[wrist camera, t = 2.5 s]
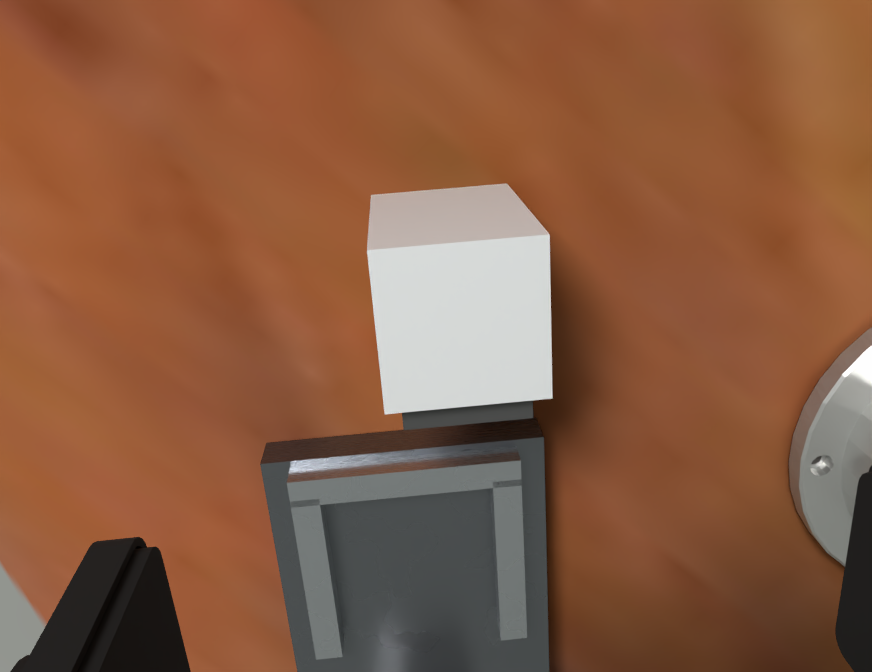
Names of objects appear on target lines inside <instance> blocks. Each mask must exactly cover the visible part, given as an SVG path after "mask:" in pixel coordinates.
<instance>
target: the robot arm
mask: <svg viewBox="0 0 872 672" xmlns="http://www.w3.org/2000/svg"><path fill="white" fill-rule="evenodd" d="M789 478H790V490H791V493H792V496H793V500H794V503H795V507H796V510H797V512H798V514H799V516H800V517H801V519H802V521H803V523H804V524H805V526H806V528H807V529H808V531H809V532H810V533H811V535H812V536H813V537H814V538H815V539H816V540H817V541H818V542H819V544H820V545H821V546H822V547H823V548H824V550H825V551H826V552H827V553H828V554H829V555H831V556H832V557H833V558H834V559H836V560H837V561H838V562H839V563H841V564H842V565H843V566H844V567H845V570H844V577H843V583H842V590H841V596H840V603H839V609H838V616H837V622H836V639H837V643H838V646H839V649H840V651H841V653H842V655H843V657H844V658H845V660H846V661H847V662H848V664H849V665H850V666H851V668H852V669H853V670H854V672H872V327H871V328H870V329H868V330H867V331H866V332H865V333H864V334H862V335H861V336H860V337H859V338H858V339H857V340H856V341H855V342H853V343H852V344H851V345H850V346H849V347H848V348H847V349H845V350H844V351H843V352H842V353H841V354H840V355H839V357H838V358H837V359H836V360H835V361H834V363H833V364H832V365H831V366H830V367H829V369H828V370H827V371H826V372H825V373H824V375H823V376H822V377H821V378H820V380H819V381H818V383H817V385H816V386H815V388H814V390H813V392H812V393H811V395H810V397H809V398H808V400H807V402H806V403H805V405H804V407H803V410H802V412H801V415H800V418H799V420H798V423H797V426H796V428H795V431H794V434H793V439H792V445H791V451H790V457H789ZM11 672H190V668H189V663H188V659H187V655H186V651H185V647H184V643H183V639H182V635H181V631H180V627H179V623H178V619H177V615H176V611H175V607H174V603H173V599H172V595H171V591H170V587H169V583H168V579H167V575H166V571H165V567H164V563H163V559H162V555H161V552H160V550H159V549H158V548H157V547H148V548H147V546H146V543H145V542H144V540H143V539H142V538H140V537H134V538H125V539H115V540H106V541H97V542H94V543H93V544H92V545H91V546H90V548H89V549H88V551H87V553H86V555H85V556H84V558H83V560H82V562H81V564H80V565H79V567H78V569H77V571H76V573H75V574H74V576H73V578H72V580H71V582H70V584H69V585H68V587H67V589H66V591H65V593H64V594H63V596H62V598H61V600H60V602H59V603H58V605H57V607H56V609H55V611H54V612H53V614H52V616H51V618H50V620H49V622H48V623H47V625H46V627H45V629H44V631H43V633H42V634H41V636H40V638H39V640H38V641H37V643H36V645H35V647H34V649H33V650H32V652H31V654H30V655H27V656H25V657H24V658H22V659H21V660H19V661H18V662H17V663H16V665H15V666H14V667H13V669H12V670H11Z"/></svg>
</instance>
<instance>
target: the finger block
mask: <svg viewBox="0 0 872 672" xmlns="http://www.w3.org/2000/svg"><path fill="white" fill-rule="evenodd" d="M367 254H368V263H369V273H370V282H371V291H372V300H373V310H374V319H375V328H376V338H377V347H378V356H379V365H380V375H381V384H382V393H383V403H384V412H385V414H393V413H402V417H403V427H404V430H412V429H423V428H433V427H444V426H455V425H465V424H476V423H486V422H497V421H507V420H518V419H529V418H533V400H542V399H553V396H552V339H551V283H550V234H549V233H548V232H547V231H546V229H545V228H544V227H543V226H542V225H541V224H540V222H539V221H538V220H537V219H536V218H535V216H534V215H533V214H532V213H531V212H530V210H529V209H528V208H527V207H526V206H525V204H524V203H523V202H522V201H521V200H520V198H519V197H518V196H517V195H516V194H515V193H514V191H513V190H512V189H511V188H510V187H509V185H508V184H496V185H484V186H473V187H461V188H449V189H437V190H425V191H413V192H401V193H389V194H377V195H371V203H370V217H369V231H368V244H367Z"/></svg>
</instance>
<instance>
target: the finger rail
mask: <svg viewBox="0 0 872 672" xmlns="http://www.w3.org/2000/svg"><path fill="white" fill-rule="evenodd" d="M260 465H261V470H262V476H263V482H264V487H265V493H266V498H267V504H268V510H269V515H270V521H271V526H272V532H273V537H274V543H275V549H276V554H277V560H278V565H279V571H280V577H281V582H282V588H283V593H284V599H285V604H286V610H287V616H288V621H289V627H290V632H291V638H292V644H293V649H294V655H295V660H296V666H297V672H549V638H548V594H547V550H546V506H545V463H544V436H543V434H542V431H541V429H540V426H539V424H538V421H537V419H536V418H529V419H518V420H507V421H497V422H486V423H476V424H465V425H455V426H444V427H433V428H423V429H412V430H398V431H388V432H377V433H367V434H356V435H345V436H335V437H324V438H313V439H303V440H292V441H282V442H271V443H266V446H265V450H264V453H263V457H262V460H261V464H260Z"/></svg>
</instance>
